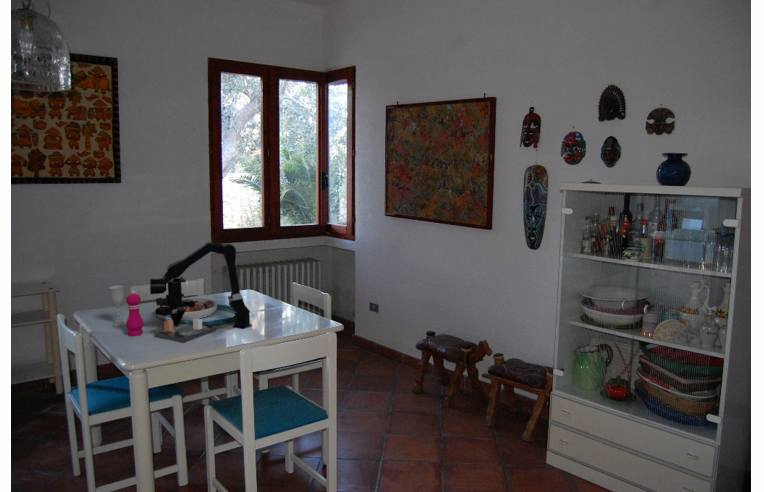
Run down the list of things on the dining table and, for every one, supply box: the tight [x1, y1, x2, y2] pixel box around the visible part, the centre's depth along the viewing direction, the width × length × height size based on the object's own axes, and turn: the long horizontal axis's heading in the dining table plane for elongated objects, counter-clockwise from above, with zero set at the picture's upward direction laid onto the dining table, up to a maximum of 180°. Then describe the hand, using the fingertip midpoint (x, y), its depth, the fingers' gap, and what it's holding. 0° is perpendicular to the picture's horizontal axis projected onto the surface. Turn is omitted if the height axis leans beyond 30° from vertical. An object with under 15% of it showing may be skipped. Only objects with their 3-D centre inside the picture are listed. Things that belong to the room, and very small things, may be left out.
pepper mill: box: [125, 290, 145, 337], centre depth 260 cm, size 7×7×20 cm
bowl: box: [153, 297, 218, 321], centre depth 295 cm, size 30×30×8 cm
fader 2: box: [192, 318, 203, 330], centre depth 261 cm, size 3×2×4 cm
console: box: [154, 320, 217, 344], centre depth 262 cm, size 17×20×3 cm
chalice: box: [108, 285, 125, 327], centre depth 274 cm, size 7×7×18 cm
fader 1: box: [163, 319, 174, 331], centre depth 258 cm, size 3×2×4 cm
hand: (176, 326), depth 263 cm, fingers closed
